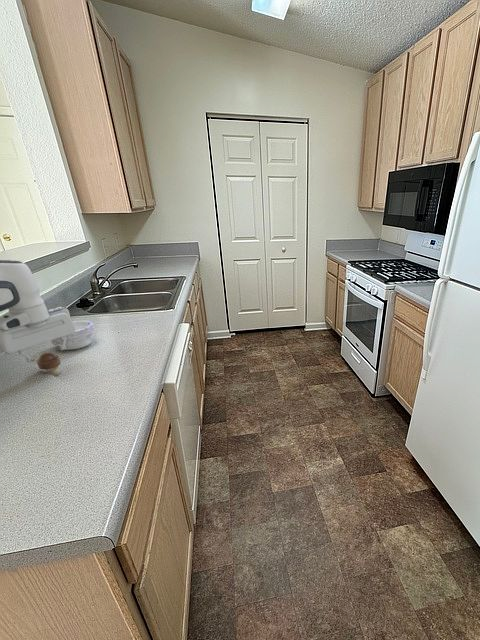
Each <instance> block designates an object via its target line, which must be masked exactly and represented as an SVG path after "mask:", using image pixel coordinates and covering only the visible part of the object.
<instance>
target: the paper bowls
mask: <svg viewBox="0 0 480 640" xmlns="http://www.w3.org/2000/svg"><path fill="white" fill-rule="evenodd" d="M72 322H73V323H74V326H75V328H76V330H75V333H72V334H69V335H66V338H67V339H66V343H65V346H66V349H65V350H67V351H69V350H70V351H72V350H79V349H82V348H85V347H87V346H89V345H90V344H91V343H92V341H93V339H94V338H95V337H96V336H97V330H96V328H95V325H94V323H93V322H92V321H91V320H74V321H72ZM60 341H61V339H59V338H57V339H54V340H51V341H50V343H51V344H52V345H53V346H57V347H58V345H59V344H60Z"/></svg>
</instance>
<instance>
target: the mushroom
mask: <svg viewBox="0 0 480 640" xmlns="http://www.w3.org/2000/svg"><path fill="white" fill-rule="evenodd" d="M36 364H37V366H38V367H37V368H38V369H39V370H43V371H44V372H45V373H47V374H49V375H51V376H53V377H57V376H59V375H60V374H61V370H60V368H59V366H61V364H62V362H61V359H60V357H59V355H58V354H54V353H52V352H44V353H41V354H40V356H39V357H38V359H37V360H36Z"/></svg>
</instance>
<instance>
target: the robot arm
mask: <svg viewBox="0 0 480 640" xmlns="http://www.w3.org/2000/svg"><path fill="white" fill-rule="evenodd" d="M6 310H8V311H6ZM3 311H6V312H5V313H3V314H2V315H0V351H1V352H3V353H4V354H7V355H12V354H15V353H18V354H20V355H21V356H23V357H25V360H26V361H27V362H28V363H31V362H33V361H35V360H36V359H35V358H34V355H33V354H27V349H30V348H32V347H36V346H39V345H42V344H45V343H48V342H51V340H54V339H57V338H59V339H61V341H60V344H59V345H58V346H57V347H58V349H59V351H65V350H66V346H65V343H66V339H67V338H66V335H69V334H72V333H75V330H76V328H75V326H74V323H73V322H74V321H73V320H72V318H71V314H70V310H69V309H68V307H64V306H57V307H53V308H47V306H46V303H45V301H44V299H43V297H42V296H41V294H40V288H39V285H38V283H37V281H36V278H35V276H34V274H33V272H32V271H31V269H30V268H29V266H28V265H27V263H25V262H23V261H19V260H11V259H0V313H1V312H3Z"/></svg>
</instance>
